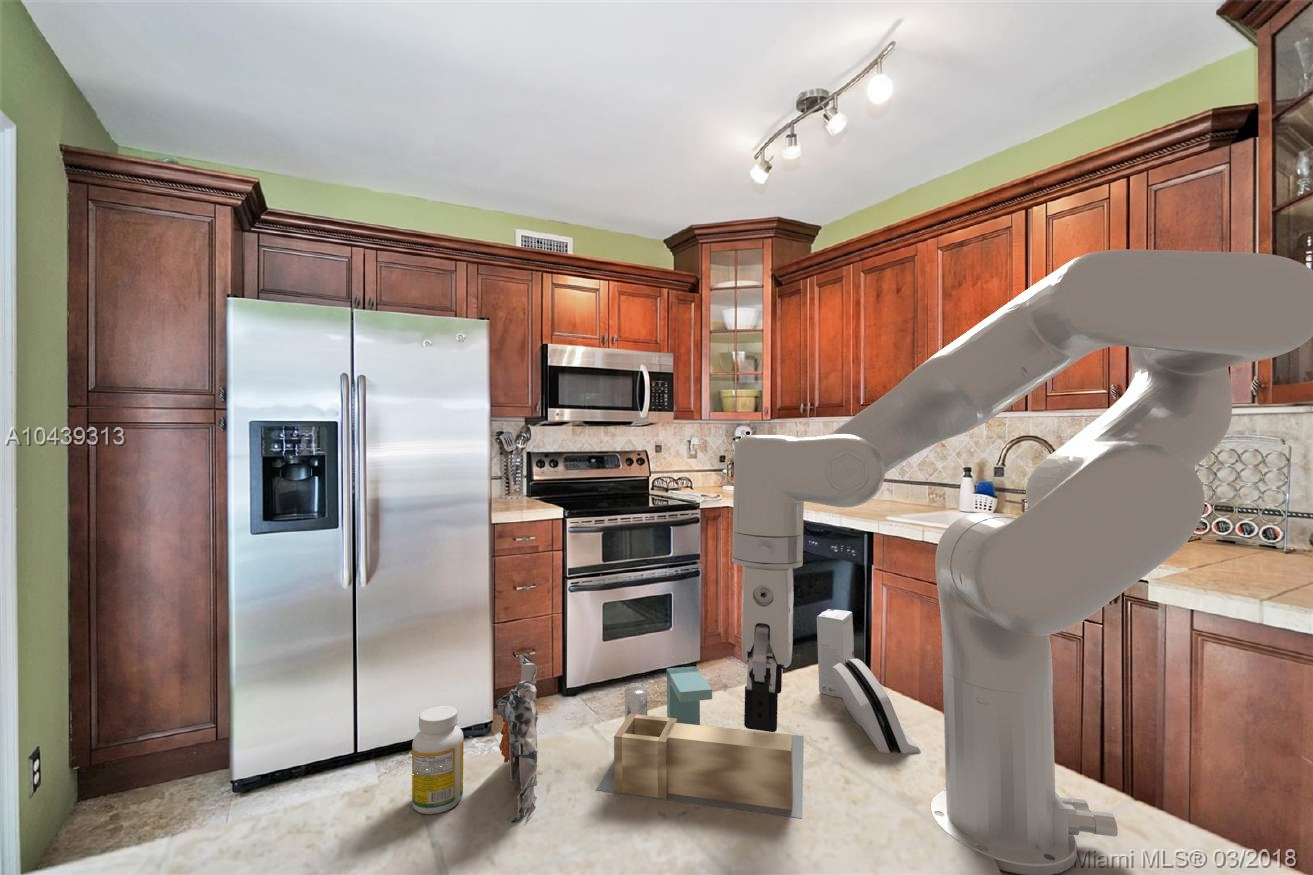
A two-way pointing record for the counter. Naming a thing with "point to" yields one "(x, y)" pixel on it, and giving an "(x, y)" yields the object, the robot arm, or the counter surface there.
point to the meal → (521, 734)
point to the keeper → (686, 694)
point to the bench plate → (796, 811)
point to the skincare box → (833, 647)
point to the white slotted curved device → (871, 707)
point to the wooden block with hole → (702, 762)
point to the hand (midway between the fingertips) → (764, 708)
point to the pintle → (635, 701)
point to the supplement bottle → (437, 761)
